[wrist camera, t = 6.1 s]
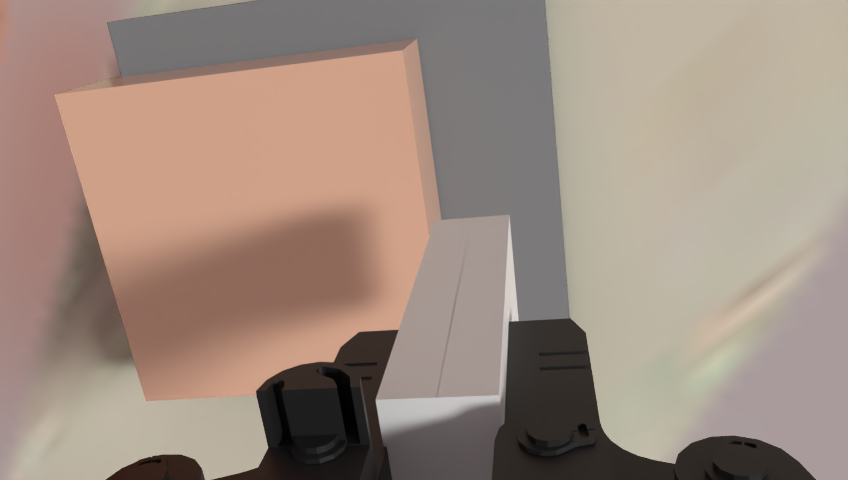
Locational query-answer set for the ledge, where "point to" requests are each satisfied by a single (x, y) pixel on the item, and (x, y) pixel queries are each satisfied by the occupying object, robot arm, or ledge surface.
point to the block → (256, 208)
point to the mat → (444, 94)
